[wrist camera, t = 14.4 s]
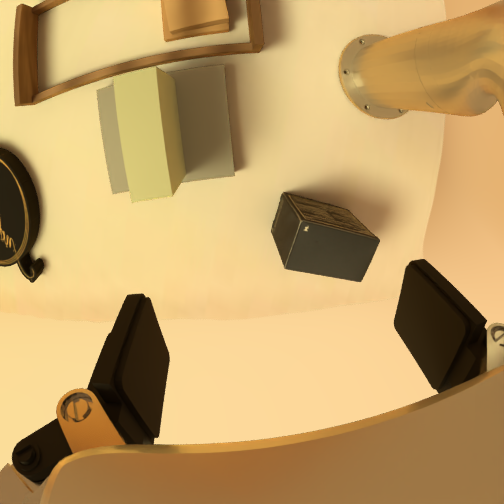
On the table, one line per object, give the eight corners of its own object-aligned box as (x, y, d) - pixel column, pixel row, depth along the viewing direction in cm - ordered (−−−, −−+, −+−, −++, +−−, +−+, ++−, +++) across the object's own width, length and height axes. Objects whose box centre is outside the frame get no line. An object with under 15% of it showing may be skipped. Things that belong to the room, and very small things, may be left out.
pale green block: (174, 79, 29) (155, 66, 20) (186, 174, 35) (172, 196, 26) (142, 85, 29) (113, 77, 20) (155, 179, 34) (131, 202, 26)
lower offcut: (221, -25, 25) (221, -31, 23) (229, 33, 30) (229, 29, 28) (162, -16, 25) (159, -21, 23) (167, 43, 29) (164, 39, 28)
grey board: (224, 67, 31) (224, 64, 29) (234, 172, 38) (234, 176, 35) (103, 91, 31) (96, 90, 28) (118, 189, 37) (112, 194, 35)
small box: (268, 234, 42) (281, 271, 33) (281, 190, 39) (299, 217, 30) (334, 248, 44) (361, 285, 35) (349, 209, 41) (382, 238, 32)
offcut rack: (248, -45, 23) (251, -62, 19) (259, 52, 31) (264, 44, 26) (34, 12, 22) (16, 6, 17) (34, 104, 29) (15, 106, 25)
